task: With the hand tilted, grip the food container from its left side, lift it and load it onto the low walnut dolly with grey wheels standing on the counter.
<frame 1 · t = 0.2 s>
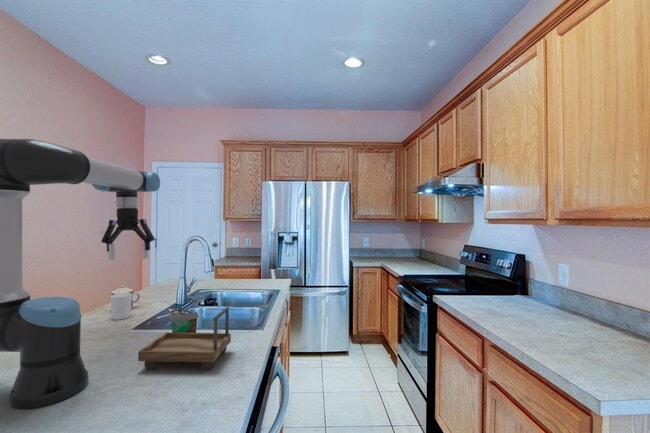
hand: (128, 259, 129), 27 cm above the counter, tool pointing down, fingers open, 13 cm apart
dolly: (187, 360, 97), on the counter
teacup with lid: (125, 309, 151), on the counter
food container: (179, 339, 115), on the counter
white cup: (121, 317, 139), on the counter
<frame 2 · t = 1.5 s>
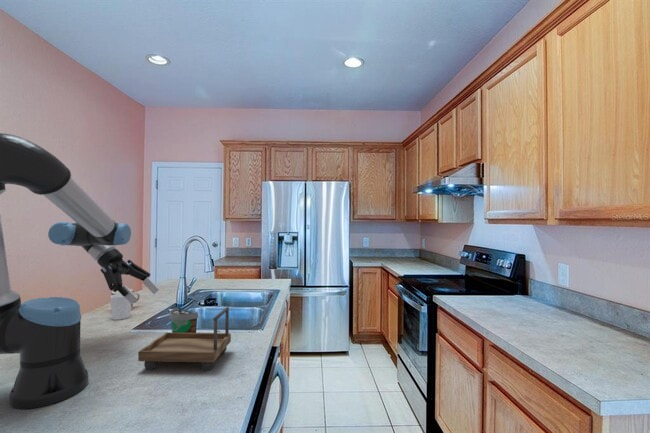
hand: (146, 296, 115), 16 cm above the counter, tool tilted 45°, fingers open, 13 cm apart
nothing on the counter moved.
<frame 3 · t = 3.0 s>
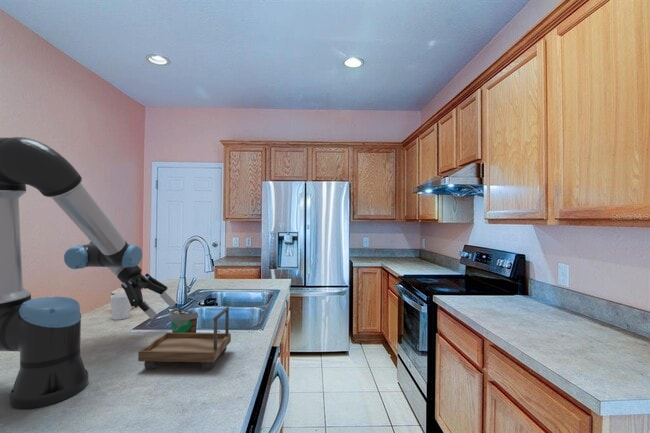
hand: (165, 310, 117), 10 cm above the counter, tool tilted 45°, fingers open, 13 cm apart
nothing on the counter moved.
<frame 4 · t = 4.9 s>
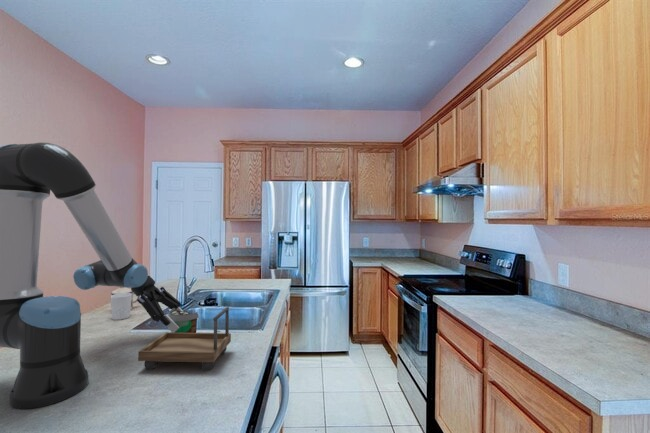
hand: (182, 325, 115), 5 cm above the counter, tool tilted 45°, fingers closed on food container, 8 cm apart
food container: (179, 339, 114), on the counter, touching gripper
everything else where it was.
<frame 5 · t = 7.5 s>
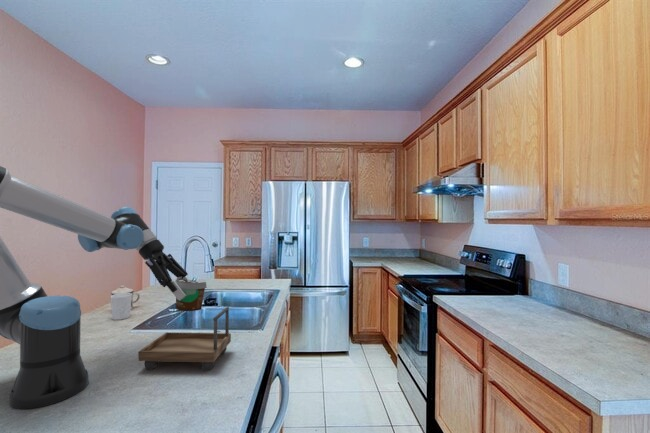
hand: (188, 295, 110), 17 cm above the counter, tool tilted 40°, fingers closed on food container, 8 cm apart
food container: (184, 309, 109), point 13 cm above the counter, touching gripper
everything else where it was.
when the fingers open (12 cm above the counter, at t = 10.1 s): food container drops 2 cm, resting on dolly.
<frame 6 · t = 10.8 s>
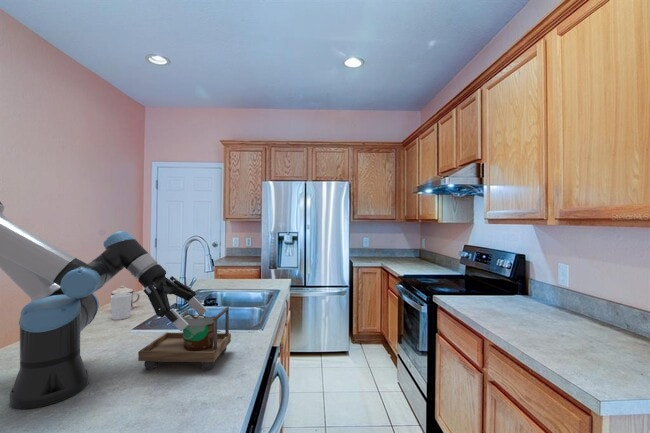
hand: (195, 320, 97), 13 cm above the counter, tool tilted 45°, fingers open, 13 cm apart
food container: (193, 349, 96), point 4 cm above the counter, touching dolly
everything else where it was.
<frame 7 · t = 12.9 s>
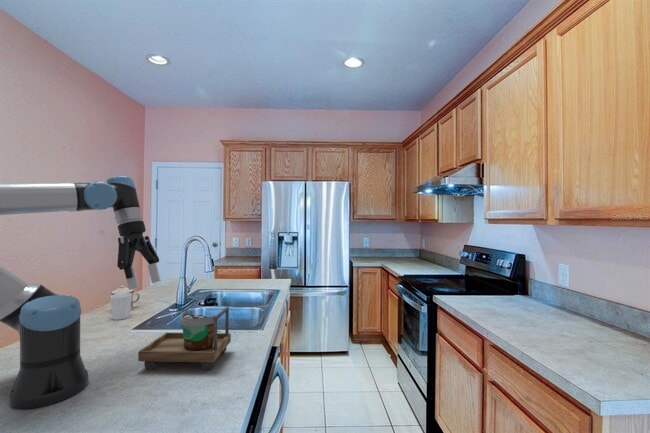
hand: (146, 285, 102), 22 cm above the counter, tool tilted 15°, fingers open, 13 cm apart
nothing on the counter moved.
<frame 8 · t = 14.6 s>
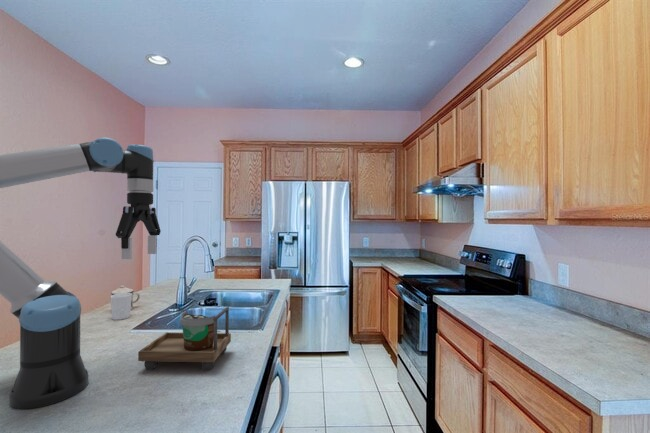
hand: (140, 256, 104), 32 cm above the counter, tool pointing down, fingers open, 13 cm apart
nothing on the counter moved.
at the end: food container inside the target area on the dolly (2.7 cm from its centre), point 4.2 cm above the dolly's base; food container tilted 0°; the gripper is holding nothing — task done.
